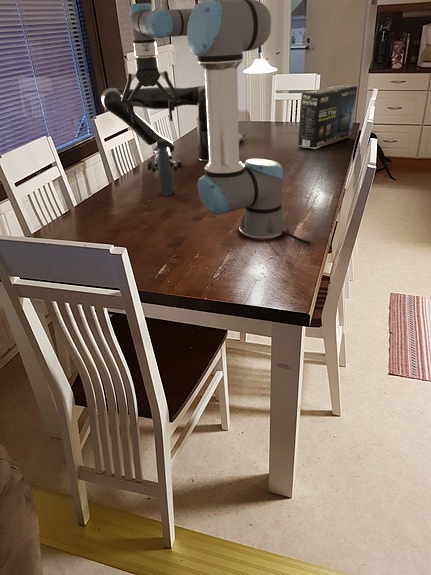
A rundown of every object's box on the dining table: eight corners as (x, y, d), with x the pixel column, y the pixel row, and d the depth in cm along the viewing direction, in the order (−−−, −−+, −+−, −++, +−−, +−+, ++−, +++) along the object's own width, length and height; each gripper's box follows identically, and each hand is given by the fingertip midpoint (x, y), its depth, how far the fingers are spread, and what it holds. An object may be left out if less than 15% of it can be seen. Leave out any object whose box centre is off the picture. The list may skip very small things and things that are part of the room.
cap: (165, 144, 178) (165, 138, 177) (169, 147, 174) (168, 140, 173) (155, 146, 176) (155, 140, 175) (158, 148, 173) (158, 142, 172)
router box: (314, 151, 231) (318, 94, 217) (296, 148, 237) (299, 92, 224) (352, 138, 251) (358, 85, 238) (335, 135, 258) (340, 83, 245)
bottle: (170, 190, 188) (166, 139, 177) (174, 194, 184) (169, 142, 173) (159, 192, 186) (154, 141, 176) (162, 196, 182) (157, 143, 172)
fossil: (236, 139, 242) (217, 121, 245) (225, 156, 248) (207, 138, 251) (252, 138, 255) (234, 121, 258) (242, 154, 262) (224, 137, 265)
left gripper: (147, 151, 202) (146, 161, 188) (179, 149, 203) (181, 159, 189) (149, 168, 206) (148, 179, 192) (180, 166, 207) (182, 177, 193)
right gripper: (109, 59, 151) (118, 126, 162) (183, 55, 155) (187, 121, 166) (108, 57, 157) (117, 122, 168) (180, 53, 161) (184, 117, 172)
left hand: (164, 169), depth 191 cm, fingers open, 8 cm apart
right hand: (152, 121), depth 167 cm, fingers open, 13 cm apart
